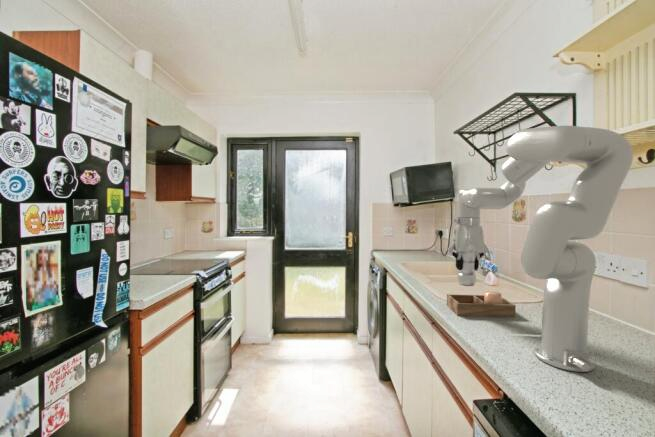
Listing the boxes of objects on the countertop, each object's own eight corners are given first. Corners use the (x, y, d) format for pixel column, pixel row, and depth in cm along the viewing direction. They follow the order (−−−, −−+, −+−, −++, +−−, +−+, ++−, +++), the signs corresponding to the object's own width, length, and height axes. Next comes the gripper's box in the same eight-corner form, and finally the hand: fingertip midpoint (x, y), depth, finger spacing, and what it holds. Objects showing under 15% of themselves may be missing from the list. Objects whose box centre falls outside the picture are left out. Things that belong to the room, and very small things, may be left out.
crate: (515, 318, 109) (515, 305, 109) (457, 317, 110) (457, 303, 110) (498, 308, 121) (499, 295, 121) (446, 306, 122) (447, 294, 122)
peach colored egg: (503, 314, 112) (504, 295, 112) (488, 313, 113) (488, 295, 112) (496, 308, 118) (496, 291, 118) (481, 308, 118) (481, 290, 118)
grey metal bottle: (467, 283, 120) (469, 232, 119) (480, 287, 113) (481, 234, 112) (453, 283, 118) (455, 232, 117) (465, 288, 112) (467, 234, 111)
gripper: (448, 222, 111) (447, 271, 112) (496, 223, 110) (494, 272, 111) (442, 221, 119) (440, 267, 119) (487, 221, 118) (485, 268, 118)
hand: (466, 269), depth 115 cm, fingers closed on grey metal bottle, 5 cm apart
